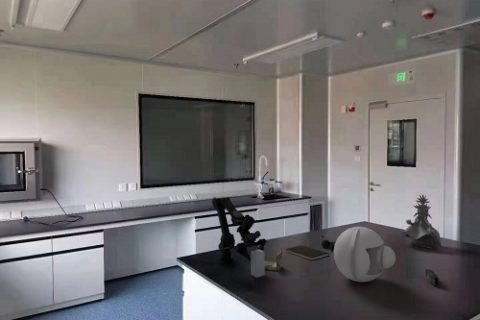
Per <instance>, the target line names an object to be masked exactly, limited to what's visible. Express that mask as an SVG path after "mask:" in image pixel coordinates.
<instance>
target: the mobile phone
mask: <svg viewBox="0 0 480 320" xmlns="http://www.w3.org/2000/svg"><path fill="white" fill-rule="evenodd" d="M425 278H426V279H427V280H428V282H429V283H430V284H431V285H432V286H434V287H438V288H439V289H441V287H440V278H439V277H438V275H437V274H436V273H435V272H434V271H433V270H431V269H427V268H426V269H425Z"/></svg>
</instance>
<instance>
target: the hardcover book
mask: <svg viewBox="0 0 480 320" xmlns="http://www.w3.org/2000/svg"><path fill="white" fill-rule="evenodd" d="M285 251H286V252H287V253H289V254H293V255H295V256H298V257H301V258H304V259H307V260H310V261H314V260H317V259H320V258H324V257H327V256H330V253H329V252H326V251H323V250H321V249H316V248H313V247H310V246H306V245H304V244H300V245H296V246H292V247H288V248H285Z"/></svg>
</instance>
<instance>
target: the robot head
mask: <svg viewBox="0 0 480 320" xmlns="http://www.w3.org/2000/svg"><path fill="white" fill-rule="evenodd" d="M335 242H336V243H335V246H334V251H333V258H334V262H335V264H336V267H337V269H338V270H339V271H340V273H341V274H342V275H343V276H345V277H346V278H347V279H349V280H351V281H353V282H358V283H367V282H369V283H370V282H372V281H373V280H376V279H377V278H378V277H379V276H381V274H382V273H383V272H384V269H389V268H391V267H393V266H394V264H395V262H396V259H397V257H396V254H395V251H394V250H393V248H391V247H390V246H387V245H383V244H384V242H385V241H384V240H383V239H382V237H380V235H379V234H378V233H377V232H375V231H374V229H373V230H372V229H370V228H368V227H365V226H353V227H350V228H347V229H346V230H344V231H343V232H342V233H341V234H340V235H339V236H338V237H337V239H336V241H335Z"/></svg>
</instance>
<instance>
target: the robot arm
mask: <svg viewBox="0 0 480 320" xmlns="http://www.w3.org/2000/svg"><path fill="white" fill-rule="evenodd" d="M211 204H212V206H213V208H214V210H216V213H217V217H218V222H219V226H220V230H221V236H220V242H219V244H218V246H217V247H218V250H220V258H219V260H222V261H230V260H232V259H233V258H234V256H233V255H234V254H233V253H234V252H235V253H237V254H240V255H241V256H243V257H245V259H247V260H248V261H249V262H251V255H249V253H248V251H247V248H248V249H249V248H252V247H256V248H257V249H256V250H262V251H264V252H265V249H264V248H265V245H266V244H267V239H266V238H260V237H261V235H262V234H261V232H260V231H259V230H256V231H255V232H251V231H250V230H251V228H252V227H253V226H254V224H255V223H256V220H255V218H254V217H253V216H251V215H250V214H245V215H244V214H243V213H242V212H240V211H238V210H237V208H236V206H235V205H234V203H233V202H232V201H231V198H230V196H217V197H216V196H215V197H213V198H212V200H211ZM226 211H227V213H228V214H229V216H230V221H231V224H232V225H233V226H234V227H237V228H236V233H238V234H239V236H240V237H241V238H240V241H241V242H238V243H236V239H235V235H234V233H231V231H230V228H229V223H228V218H227V213H226ZM257 239H258V240H257ZM235 244H236V245H235ZM233 250H234V252H233Z"/></svg>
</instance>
